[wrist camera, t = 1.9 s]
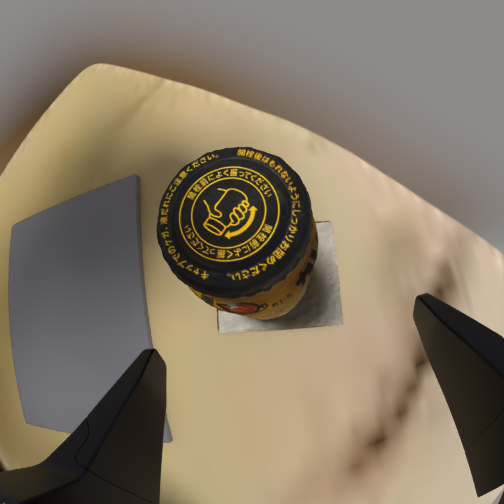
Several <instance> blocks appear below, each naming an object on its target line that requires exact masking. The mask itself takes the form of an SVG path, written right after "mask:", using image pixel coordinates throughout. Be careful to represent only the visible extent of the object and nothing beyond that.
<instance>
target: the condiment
mask: <svg viewBox="0 0 504 504" xmlns="http://www.w3.org/2000/svg"><path fill="white" fill-rule="evenodd" d="M157 238H158V243H159V246H160V247H161V250H162V254H163V257H164V259H165V261H166V262H167V263H168V265H169V267H170V268H171V270H172V272H173V273H174V274H175V275H176V276H177V278H178V279H179V280H181V281H182V282H183V283H184V284H186V285H188V286H189V288H190V289H191V290H192V291H193V292H194V294H195V295H196V296H198V297H199V298H200V299H201V300H203V301H205V302H206V303H207V304H210V305H211V306H213V307H215V308H217V309H218V319H219V333H232V332H254V331H272V330H286V329H299V328H311V327H322V326H332V325H341V324H343V317H342V308H341V297H340V286H339V278H338V268H337V260H336V251H335V243H334V235H333V228H332V222H321V223H315V220H314V218H313V213H312V210H311V201H310V197H309V193H308V192H307V190H306V187H305V186H304V184H303V182H302V180H301V178H300V176H299V175H298V174H297V173H296V172H295V171H294V170H293V169H292V168H291V167H290V166H289V165H288V164H287V163H286V162H285V161H284V160H283V159H282V158H280V157H278V156H275V155H272V154H269V153H266V152H264V151H260V150H256V149H253V148H251V147H235V148H225V149H221V150H216V151H213V152H209V153H206V154H204V155H203V156H201V157H200V158H198V159H197V160H195V161H193V162H192V163H190V164H188V165H186V166H185V167H183V168H182V169H181V170H180V171H179V172H178V174H177V175H176V176H175V177H174V179H173V180H172V181H171V183H170V185H169V186H168V188H167V190H166V191H165V193H164V195H163V198H162V200H161V203H160V208H159V215H158V222H157Z"/></svg>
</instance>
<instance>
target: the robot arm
mask: <svg viewBox="0 0 504 504" xmlns="http://www.w3.org/2000/svg"><path fill="white" fill-rule="evenodd" d="M413 318H414V321H415V324H416V327H417V329H418V332H419V335H420V338H421V341H422V344H423V347H424V350H425V352H426V355H427V357H428V360H429V362H430V364H431V366H432V369H433V371H434V373H435V375H436V378H437V380H438V382H439V385H440V387H441V389H442V392H443V394H444V396H445V399H446V401H447V404H448V406H449V409H450V412H451V414H452V417H453V419H454V422H455V425H456V427H457V430H458V433H459V436H460V439H461V442H462V445H463V448H464V451H465V454H466V457H467V461H468V464H469V467H470V471H471V474H472V478H473V481H474V485H475V489H476V493H477V496H478V497H480V496H482V495H484V494H486V493H488V492H490V491H492V490H494V489H496V488H498V487H500V486H501V485H503V484H504V338H503V337H502V336H501V335H499V334H497V333H496V332H494V331H492V330H491V329H489V328H487V327H486V326H484V325H482V324H481V323H479V322H477V321H476V320H474V319H472V318H471V317H469V316H467V315H465V314H464V313H462V312H460V311H459V310H457V309H455V308H453V307H452V306H450V305H448V304H446V303H445V302H443V301H441V300H439V299H437V298H436V297H434V296H432V295H430V294H428V293H424V294H421V295H418V296H417V297H416V299H415V305H414V311H413ZM165 415H166V364H165V362H164V360H163V359H162V357H161V356H160V354H159V353H158V351H157V350H156V349H155V348H151V349H144V350H143V351H142V352H141V353H140V355H139V356H138V357H137V358H136V359H135V360H134V361H133V363H132V364H131V365H130V366H129V367H128V368H127V370H126V371H125V372H124V373H123V374H122V375H121V377H120V378H119V379H118V380H117V381H116V382H115V384H114V385H113V386H112V387H111V388H110V389H109V391H108V392H107V393H106V394H105V395H104V396H103V398H102V399H101V400H100V401H99V402H98V404H97V405H96V406H95V407H94V408H93V409H92V411H91V412H90V413H89V414H88V415H87V417H86V418H85V419H84V420H83V421H82V422H81V424H80V425H79V426H78V427H77V428H76V429H75V430H74V432H73V433H72V434H71V435H70V436H69V437H68V438H67V439H66V440H65V441H64V442H63V443H62V444H61V445H60V446H59V447H58V448H57V449H56V450H55V451H54V452H53V453H52V454H51V455H50V456H49V457H48V458H47V459H46V460H45V461H43V462H42V463H40V464H38V465H35V466H31V467H26V468H21V469H15V470H9V471H3V472H0V501H1V502H3V504H159V500H160V478H161V462H162V448H163V436H164V425H165ZM0 504H1V503H0ZM498 504H504V492H503V494H502V497H501V499H500V501H499V503H498Z"/></svg>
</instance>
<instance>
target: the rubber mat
mask: <svg viewBox="0 0 504 504" xmlns="http://www.w3.org/2000/svg"><path fill="white" fill-rule="evenodd" d="M8 291H9V321H10V335H11V345H12V354H13V361H14V368H15V374H16V380H17V386H18V391H19V396H20V400H21V405H22V409H23V413H24V417H25V421H26V423H27V424H31V425H35V426H39V427H43V428H47V429H52V430H56V431H61V432H66V433H73V432H74V430H75V429H76V428H77V427H78V426H79V425H80V424H81V422H82V421H83V420H84V419H85V418H86V417H87V415H88V414H89V413H90V412H91V411H92V409H93V408H94V407H95V406H96V405H97V404H98V402H99V401H100V400H101V399H102V398H103V396H104V395H105V394H106V393H107V392H108V391H109V389H110V388H111V387H112V386H113V385H114V384H115V382H116V381H117V380H118V379H119V378H120V377H121V375H122V374H123V373H124V372H125V371H126V370H127V368H128V367H129V366H130V365H131V364H132V363H133V361H134V360H135V359H136V358H137V357H138V356H139V355H140V353H141V352H142V351H143V350H144V349H151V348H153V344H152V338H151V331H150V325H149V317H148V310H147V302H146V293H145V284H144V274H143V262H142V249H141V234H140V213H139V177H138V176H137V175H136V174H135V175H132V176H130V177H127V178H124V179H121V180H118V181H116V182H113V183H110V184H107V185H105V186H102V187H100V188H97V189H94V190H92V191H89V192H87V193H84V194H82V195H79V196H77V197H75V198H72V199H70V200H67V201H65V202H63V203H61V204H58V205H56V206H54V207H51V208H49V209H47V210H45V211H43V212H41V213H38V214H36V215H34V216H32V217H30V218H28V219H26V220H24V221H22V222H20V223H18V224H16V225H14V226H12V231H11V242H10V255H9V285H8ZM171 441H173V439H172V435H171V431H170V427H169V423H168V419H167V415H165V425H164V436H163V443H170V442H171Z"/></svg>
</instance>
